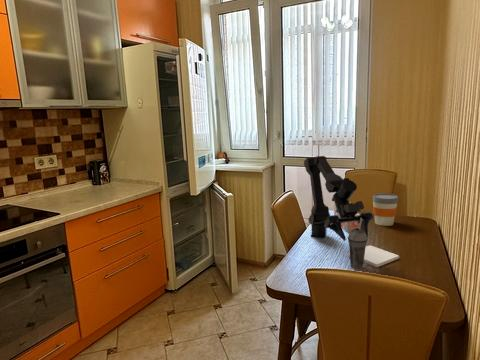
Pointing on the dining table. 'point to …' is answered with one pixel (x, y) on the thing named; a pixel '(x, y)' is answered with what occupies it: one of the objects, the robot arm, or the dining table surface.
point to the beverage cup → (357, 247)
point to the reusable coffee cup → (384, 208)
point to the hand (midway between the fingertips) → (355, 239)
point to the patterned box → (347, 225)
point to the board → (377, 256)
